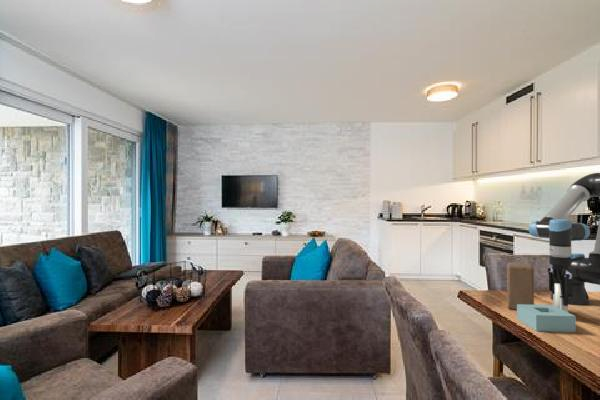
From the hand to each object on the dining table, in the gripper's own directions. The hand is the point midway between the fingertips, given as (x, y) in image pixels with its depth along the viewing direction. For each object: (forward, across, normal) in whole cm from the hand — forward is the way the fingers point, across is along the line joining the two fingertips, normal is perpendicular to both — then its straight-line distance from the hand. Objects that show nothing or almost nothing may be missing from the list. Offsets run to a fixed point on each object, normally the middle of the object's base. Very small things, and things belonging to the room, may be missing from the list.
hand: (560, 311), depth 148 cm
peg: (+3, 0, 0) cm, 3 cm away
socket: (+3, +10, -12) cm, 16 cm away
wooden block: (+3, -12, -10) cm, 16 cm away
